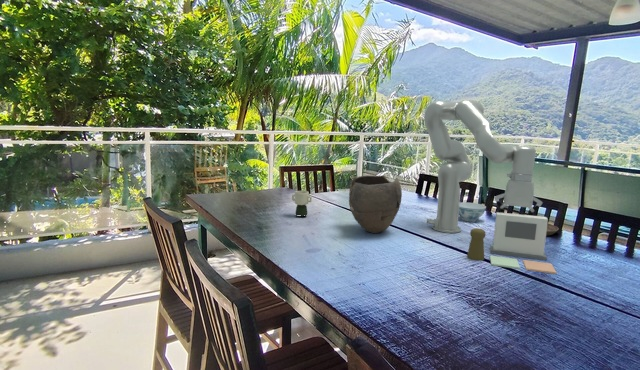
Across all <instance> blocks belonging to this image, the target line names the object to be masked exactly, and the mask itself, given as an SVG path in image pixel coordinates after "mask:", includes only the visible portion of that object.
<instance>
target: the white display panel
mask: <svg viewBox="0 0 640 370" xmlns="http://www.w3.org/2000/svg"><path fill="white" fill-rule="evenodd" d="M548 221H549V219H548V217H547V216H539V215H533V216H530V215H528V214H517V213H508V212H507V213H506V212H504V213H500V211H499V212H497V211H496V212H495V222H494V233H493V242H492V245H489V252H490V254H493V255H494V254H496V255H502V256H510V257H517V258H527V259H533V260H534V259H535V260H539V261H540V260H541V261H548V256H547V255H546V253H545V248H546V246H545V245H546V239H547V236H546V231H547V223H548V224H549V222H548Z"/></svg>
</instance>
